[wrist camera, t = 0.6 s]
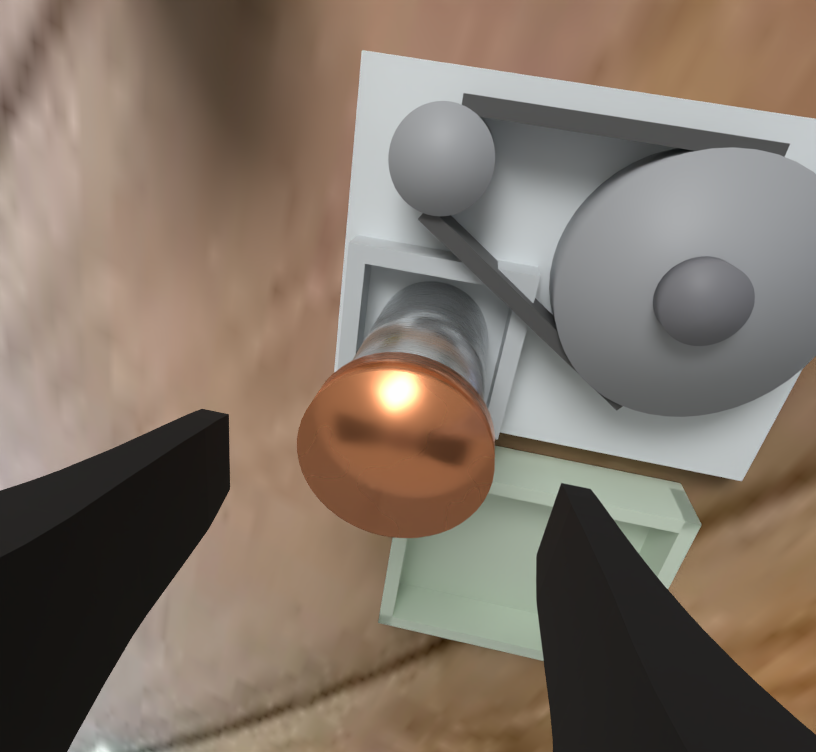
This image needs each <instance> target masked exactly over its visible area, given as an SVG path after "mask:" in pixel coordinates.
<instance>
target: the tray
mask: <svg viewBox="0 0 816 752" xmlns="http://www.w3.org/2000/svg"><path fill="white" fill-rule="evenodd" d="M561 483H564V484H569V485H574V486H579V487H584V488H589V489H591V490H592V491H593V492H594V494H595V495H596V496H597V498H598V499H599V500H600V502H601V503H602V504H603V506H604V507H605V509H606V510H607V511H608V513H609V514H610V516H611V517H612V518H613V520H614V521H615V522H616V524H617V525H618V526H619V528H620V529H621V531H622V532H623V533H624V535H625V536H626V537H627V539H628V540H629V541H630V543H631V544H632V545H633V547H634V548H635V549H636V551H637V552H638V553H639V555H640V556H641V557H642V558H643V560H644V561H645V562H646V564H647V565H648V566H649V567H650V569H651V570H652V571H653V572H654V574H655V575H656V576H657V577H658V578H659V580H660V581H661V582H662V583H663V585H664V586H665V587H666V588H667V589H668V588H669V586H670V584H671V583H672V581H673V579H674V577H675V575H676V573H677V571H678V569H679V567H680V565H681V563H682V561H683V559H684V558H685V556H686V554H687V552H688V550H689V548H690V546H691V544H692V542H693V540H694V538H695V536H696V534H697V533H698V531H699V529H700V527H701V523H700V521H699V519H698V517H697V515H696V513H695V511H694V509H693V507H692V505H691V503H690V501H689V499H688V497H687V495H686V493H685V491H684V489H683V487H682V485H681V483H677V482H672V481H667V480H662V479H657V478H653V477H648V476H643V475H638V474H633V473H628V472H623V471H618V470H613V469H608V468H603V467H598V466H593V465H589V464H584V463H579V462H574V461H569V460H564V459H559V458H554V457H549V456H544V455H539V454H534V453H529V452H525V451H520V450H515V449H510V448H505V447H500V446H495V471H494V476H493V482H492V485H491V487H490V490H489V493H488V495H487V496H486V498H485V500H484V502H483V503H482V504H481V506H480V507H479V508H478V509H477V511H476V512H474V513H473V514H472V515H471V516H470V517H469V518H468V519H467V520H465V521H464V522H462V523H461V524H459V525H457V526H456V527H454V528H452V529H450V530H447V531H445V532H442V533H439V534H436V535H432V536H427V537H420V538H394V537H393V539H392V545H391V550H390V556H389V562H388V568H387V574H386V580H385V586H384V591H383V597H382V603H381V609H380V615H379V621H378V623H381V624H386V625H390V626H394V627H399V628H403V629H407V630H412V631H416V632H420V633H425V634H429V635H433V636H438V637H442V638H446V639H451V640H455V641H459V642H464V643H468V644H472V645H477V646H481V647H485V648H490V649H494V650H498V651H503V652H507V653H511V654H516V655H520V656H524V657H529V658H533V659H537V660H541V661H544V659H543V651H542V644H541V636H540V627H539V619H538V611H537V602H536V555H537V552H538V549H539V546H540V543H541V540H542V537H543V534H544V531H545V529H546V526H547V523H548V520H549V517H550V514H551V511H552V508H553V505H554V502H555V499H556V497H557V494H558V491H559V488H560V485H561Z"/></svg>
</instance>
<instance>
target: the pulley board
mask: <svg viewBox="0 0 816 752" xmlns="http://www.w3.org/2000/svg"><path fill="white" fill-rule="evenodd" d="M424 281H437V282H443V283H447V284H450V285H453V286H455V287H457V288H459V289H461V290H463V291H464V292H465V293H467V294H468V295H469V296H470V297H471V298H472V299H473V300H474V301H475V302H476V303H477V305H478V306H479V308H480V309H481V311H482V313H483V316H484V318H485V321H486V325H487V354H486V375H485V396H484V402H485V404H486V406H487V408H488V410H489V412H490V415H491V418H492V422H493V425H494V433H495V439H497V440H498V437H499V433H505V434H510V435H515V436H520V437H525V438H530V439H535V440H540V441H545V442H550V443H555V444H560V445H565V446H570V447H575V448H580V449H585V450H590V451H595V452H600V453H605V454H610V455H615V456H620V457H624V458H629V459H634V460H639V461H644V462H649V463H654V464H659V465H664V466H669V467H674V468H679V469H684V470H689V471H694V472H699V473H704V474H709V475H714V476H719V477H724V478H729V479H734V480H739V481H742V480H743V478H744V476H745V475H746V473H747V471H748V469H749V467H750V465H751V463H752V462H753V460H754V458H755V456H756V454H757V452H758V450H759V449H760V447H761V445H762V443H763V441H764V439H765V438H766V436H767V434H768V432H769V430H770V428H771V426H772V425H773V423H774V421H775V419H776V417H777V415H778V413H779V412H780V410H781V408H782V406H783V404H784V402H785V400H786V399H787V397H788V395H789V393H790V391H791V389H792V387H793V386H794V384H795V382H796V380H797V378H798V376H799V375H800V373H801V371H802V369H803V368H804V367H805V366H806V365H807V364H808V363H809V362H810V361H811V360H812V359H813V358H814V357H815V356H816V119H813V118H806V117H799V116H793V115H786V114H780V113H773V112H766V111H760V110H753V109H747V108H740V107H734V106H727V105H720V104H714V103H707V102H701V101H694V100H687V99H681V98H674V97H668V96H661V95H654V94H648V93H641V92H635V91H628V90H621V89H615V88H608V87H602V86H595V85H588V84H582V83H575V82H569V81H562V80H555V79H549V78H542V77H536V76H529V75H523V74H516V73H509V72H503V71H496V70H490V69H483V68H476V67H470V66H463V65H457V64H450V63H443V62H437V61H430V60H424V59H417V58H410V57H404V56H397V55H391V54H384V53H377V52H371V51H364V50H362V55H361V67H360V79H359V90H358V102H357V114H356V125H355V137H354V148H353V160H352V172H351V183H350V195H349V206H348V218H347V230H346V241H345V253H344V265H343V276H342V288H341V299H340V311H339V323H338V334H337V346H336V358H335V369H334V372H336V371H337V370H338V369H340V368H341V367H342V366H344V365H346V364H348V363H349V362H351V361H352V360H353V358H354V356H355V355H356V353H357V351H358V350H359V348H360V346H361V345H362V343H363V341H364V340H365V338H366V336H367V335H368V333H369V332H370V330H371V328H372V327H373V325H374V323H375V322H376V320H377V318H378V317H379V315H380V313H381V312H382V310H383V308H384V307H385V305H386V304H387V302H388V301H389V300H390V299H391V298H392V296H393V295H395V294H396V293H397V292H398V291H400V290H401V289H403V288H405V287H407V286H409V285H411V284H415V283H418V282H424Z"/></svg>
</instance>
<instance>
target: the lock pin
mask: <svg viewBox="0 0 816 752" xmlns="http://www.w3.org/2000/svg"><path fill="white" fill-rule="evenodd" d="M486 354H487V325H486V321H485V318H484V316H483V313H482V311H481V309H480V308H479V306H478V305H477V303H476V302H475V301H474V300H473V299H472V298H471V297H470V296H469V295H468V294H467V293H465V292H464V291H463V290H461V289H459V288H457V287H455V286H453V285H450V284H447V283H443V282H437V281H424V282H418V283H415V284H411V285H409V286H407V287H405V288H403V289H401V290H400V291H398V292H397V293H396V294H395V295H393V296H392V298H391V299H390V300H389V301H388V302H387V304H386V305H385V307H384V308H383V310H382V312H381V313H380V315H379V317H378V318H377V320H376V322H375V323H374V325H373V327H372V328H371V330H370V332H369V333H368V335H367V336H366V338H365V340H364V341H363V343H362V345H361V346H360V348H359V350H358V351H357V353H356V355H355V356H354V358H353V360H352V361H351V362H349V363H348V364H346V365H344V366H342V367H341V368H340V369H338V370H337V371H336V372H334V373H333V374H332V375H331V376H330V377H329V378H328V379H327V380H326V382H325V383H324V384H323V386H322V387H321V389H320V390H319V392H318V393H317V395H316V396H315V398H314V399H313V401H312V402H311V404H310V405H309V407H308V408H307V410H306V412H305V414H304V416H303V418H302V420H301V424H300V427H299V430H298V438H297V453H298V459H299V463H300V467H301V470H302V473H303V475H304V477H305V479H306V481H307V483H308V485H309V486H310V488H311V489H312V491H313V492H314V494H315V495H316V496H317V497H318V499H319V500H320V501H321V502H322V503H323V504H324V505H325V506H326V507H327V508H328V509H329V510H331V511H332V512H333V513H334V514H336V515H337V516H338V517H340V518H341V519H343V520H345V521H346V522H348V523H350V524H352V525H354V526H356V527H358V528H360V529H363V530H365V531H368V532H371V533H374V534H378V535H382V536H388V537H394V538H420V537H427V536H432V535H436V534H439V533H442V532H445V531H447V530H450V529H452V528H454V527H456V526H457V525H459V524H461V523H462V522H464V521H465V520H467V519H468V518H469V517H470V516H471V515H472V514H473V513H474V512H476V511H477V509H478V508H479V507H480V506H481V504H482V503H483V502H484V500H485V498H486V496H487V495H488V493H489V490H490V487H491V485H492V482H493V476H494V471H495V433H494V425H493V422H492V418H491V415H490V412H489V410H488V408H487V406H486V404H485V402H484V396H485V375H486Z"/></svg>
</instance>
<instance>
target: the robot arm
mask: <svg viewBox="0 0 816 752" xmlns="http://www.w3.org/2000/svg"><path fill="white" fill-rule="evenodd" d="M229 490H230V464H229V414H224V413H220V412H215V411H210V410H205V409H200V410H198V411H195V412H193V413H190V414H188V415H186V416H183V417H181V418H179V419H176V420H174V421H172V422H170V423H168V424H166V425H163V426H161V427H159V428H157V429H155V430H153V431H150V432H148V433H146V434H144V435H142V436H139V437H137V438H135V439H133V440H131V441H128V442H126V443H124V444H122V445H119V446H117V447H115V448H113V449H110V450H108V451H106V452H103V453H101V454H98V455H96V456H93V457H91V458H89V459H86V460H84V461H81V462H79V463H76V464H74V465H71V466H69V467H67V468H64V469H62V470H59V471H56V472H54V473H51V474H48V475H46V476H43V477H40V478H37V479H34V480H32V481H29V482H26V483H23V484H20V485H17V486H14V487H11V488H7V489H4V490H1V491H0V752H67V751H68V749H69V747H70V745H71V743H72V741H73V739H74V738H75V736H76V734H77V732H78V730H79V729H80V727H81V725H82V723H83V721H84V720H85V718H86V716H87V714H88V712H89V711H90V709H91V707H92V705H93V703H94V702H95V700H96V698H97V696H98V694H99V693H100V691H101V689H102V687H103V685H104V684H105V682H106V680H107V679H108V677H109V675H110V673H111V672H112V670H113V668H114V667H115V665H116V663H117V662H118V660H119V658H120V656H121V655H122V653H123V651H124V650H125V648H126V646H127V645H128V643H129V641H130V639H131V638H132V636H133V635H134V633H135V632H136V630H137V629H138V627H139V626H140V624H141V623H142V621H143V620H144V618H145V617H146V615H147V614H148V612H149V611H150V610H151V608H152V607H153V606H154V604H155V603H156V601H157V600H158V599H159V597H160V596H161V595H162V593H163V592H164V590H165V589H166V588H167V586H168V585H169V583H170V582H171V581H172V579H173V578H174V577H175V575H176V574H177V572H178V571H179V570H180V568H181V567H182V566H183V564H184V563H185V561H186V560H187V559H188V557H189V556H190V554H191V553H192V552H193V550H194V549H195V547H196V546H197V545H198V543H199V542H200V540H201V539H202V538H203V536H204V535H205V533H206V532H207V530H208V529H209V527H210V525H211V524H212V522H213V520H214V518H215V516H216V515H217V513H218V511H219V509H220V507H221V505H222V503H223V501H224V499H225V497H226V496H227V494H228V492H229ZM536 602H537V611H538V619H539V627H540V636H541V644H542V651H543V659H544V667H545V674H546V682H547V690H548V698H549V705H550V714H551V725H552V736H553V752H816V735H815V734H814V733H813V732H812V731H811V730H809V729H808V728H807V727H806V726H805V725H804V724H802V723H801V722H800V721H799V720H798V719H797V718H795V717H794V716H793V715H792V714H791V713H790V712H789V711H788V710H786V709H785V708H784V707H783V706H782V705H781V704H780V703H779V702H778V701H776V700H775V699H774V698H773V697H772V696H771V695H770V694H769V693H768V692H766V691H765V690H764V689H763V688H762V687H761V686H760V685H759V684H758V683H756V682H755V681H754V680H753V679H752V678H751V677H750V676H749V675H748V674H747V673H746V672H745V671H744V670H743V669H742V668H741V667H740V666H739V665H738V664H737V663H736V662H735V661H734V660H733V659H732V658H731V657H730V656H729V655H728V654H727V653H726V652H725V651H724V650H723V649H722V648H721V647H720V646H719V645H718V644H717V643H716V642H715V641H714V640H713V639H712V638H711V637H710V636H709V635H708V634H707V633H706V632H705V631H704V630H703V629H702V628H701V627H700V626H699V624H698V623H697V622H696V621H695V620H694V619H693V618H692V617H691V616H690V615H689V614H688V612H687V611H686V610H685V609H684V608H683V607H682V606H681V604H680V603H679V602H678V601H677V600H676V599H675V597H674V596H673V595H672V594H671V593H670V592H669V590H668V589H667V588H666V587H665V586H664V585H663V583H662V582H661V581H660V580H659V578H658V577H657V576H656V575H655V574H654V572H653V571H652V570H651V569H650V567H649V566H648V565H647V564H646V562H645V561H644V560H643V558H642V557H641V556H640V555H639V553H638V552H637V551H636V549H635V548H634V547H633V545H632V544H631V543H630V541H629V540H628V539H627V537H626V536H625V535H624V533H623V532H622V531H621V529H620V528H619V526H618V525H617V524H616V522H615V521H614V520H613V518H612V517H611V516H610V514H609V513H608V511H607V510H606V509H605V507H604V506H603V504H602V503H601V502H600V500H599V499H598V498H597V496H596V495H595V494H594V492H593V491H592V490H591V489H589V488H584V487H579V486H574V485H569V484H564V483H561V485H560V488H559V491H558V494H557V497H556V499H555V502H554V505H553V508H552V511H551V514H550V517H549V520H548V523H547V526H546V529H545V531H544V534H543V537H542V540H541V543H540V546H539V549H538V552H537V555H536Z"/></svg>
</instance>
